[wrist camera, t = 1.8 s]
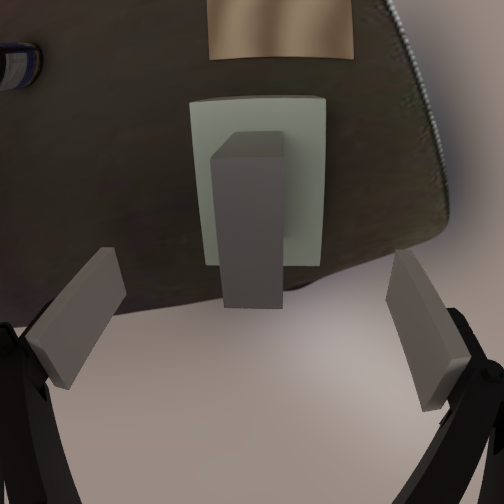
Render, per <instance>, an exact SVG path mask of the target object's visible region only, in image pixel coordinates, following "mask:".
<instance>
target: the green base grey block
mask: <svg viewBox="0 0 504 504" xmlns="http://www.w3.org/2000/svg"><path fill="white" fill-rule="evenodd" d="M190 116H191V129H192V141H193V152H194V163H195V173H196V183H197V193H198V202H199V211H200V220H201V229H202V237H203V246H204V254H205V262H206V265H220V274H221V283H222V292H223V301H224V308H253V309H254V308H256V309H282V306H283V305H282V304H283V266H320V257H321V242H322V226H323V207H324V184H325V149H326V99H325V98H244V99H225V100H211V101H199V102H191V103H190Z"/></svg>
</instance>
